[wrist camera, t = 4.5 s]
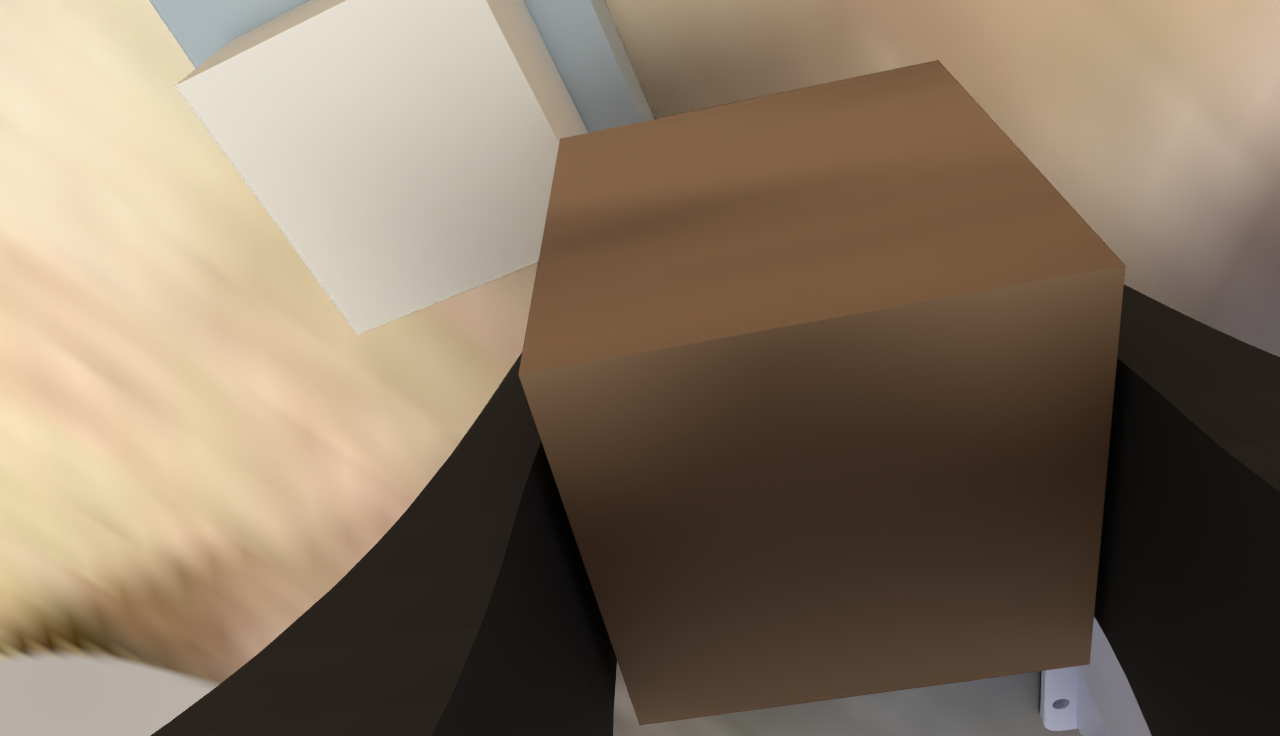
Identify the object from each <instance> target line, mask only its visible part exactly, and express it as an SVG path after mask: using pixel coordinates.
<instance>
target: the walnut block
mask: <svg viewBox="0 0 1280 736" xmlns="http://www.w3.org/2000/svg"><path fill="white" fill-rule="evenodd" d="M1124 276H1125V264H1124V263H1123V262H1122V261H1121V260H1120V259H1119V258H1118V257H1117V256H1116V255H1115V253H1114V252H1113V251H1112V250H1111V249H1110V248H1109V247H1108V246H1107V245H1106V244H1105V243H1104V241H1103V240H1102V239H1101V238H1100V237H1099V236H1098V235H1097V234H1096V233H1095V232H1094V230H1093V229H1092V228H1091V227H1090V226H1089V225H1088V224H1087V223H1086V222H1085V221H1084V220H1083V218H1082V217H1081V216H1080V215H1079V214H1078V213H1077V212H1076V211H1075V210H1074V209H1073V207H1072V206H1071V205H1070V204H1069V203H1068V202H1067V201H1066V200H1065V199H1064V198H1063V196H1062V195H1061V194H1060V193H1059V192H1058V191H1057V190H1056V189H1055V188H1054V187H1053V186H1052V184H1051V183H1050V182H1049V181H1048V180H1047V179H1046V178H1045V177H1044V176H1043V175H1042V173H1041V172H1040V171H1039V170H1038V169H1037V168H1036V167H1035V166H1034V165H1033V164H1032V163H1031V161H1030V160H1029V159H1028V158H1027V157H1026V156H1025V155H1024V154H1023V153H1022V152H1021V150H1020V149H1019V148H1018V147H1017V146H1016V145H1015V144H1014V143H1013V142H1012V141H1011V139H1010V138H1009V137H1008V136H1007V135H1006V134H1005V133H1004V132H1003V131H1002V130H1001V129H1000V127H999V126H998V125H997V124H996V123H995V122H994V121H993V120H992V119H991V118H990V116H989V115H988V114H987V113H986V112H985V111H984V110H983V109H982V108H981V107H980V106H979V104H978V103H977V102H976V101H975V100H974V99H973V98H972V97H971V96H970V95H969V93H968V92H967V91H966V90H965V89H964V88H963V87H962V86H961V85H960V84H959V82H958V81H957V80H956V79H955V78H954V77H953V76H952V75H951V74H950V73H949V72H948V70H947V69H946V68H945V67H944V66H943V65H942V64H941V63H940V62H939V61H938V60H937V61H932V62H927V63H922V64H917V65H913V66H908V67H903V68H898V69H893V70H888V71H884V72H879V73H874V74H869V75H864V76H860V77H855V78H850V79H845V80H840V81H836V82H831V83H826V84H821V85H816V86H811V87H807V88H802V89H797V90H792V91H787V92H783V93H778V94H773V95H768V96H763V97H759V98H754V99H749V100H744V101H739V102H734V103H730V104H725V105H720V106H715V107H710V108H706V109H701V110H696V111H691V112H686V113H682V114H677V115H672V116H667V117H662V118H657V119H653V120H648V121H643V122H638V123H633V124H629V125H624V126H619V127H614V128H609V129H605V130H600V131H595V132H590V133H585V134H580V135H576V136H571V137H566V138H561V139H560V142H559V147H558V153H557V159H556V164H555V170H554V176H553V181H552V187H551V193H550V199H549V204H548V210H547V216H546V221H545V227H544V233H543V238H542V244H541V250H540V255H539V261H538V267H537V272H536V278H535V284H534V289H533V295H532V301H531V306H530V312H529V318H528V323H527V329H526V335H525V340H524V346H523V352H522V357H521V363H520V369H519V378H520V381H521V383H522V386H523V389H524V392H525V395H526V398H527V401H528V404H529V407H530V409H531V412H532V415H533V418H534V421H535V424H536V427H537V430H538V433H539V435H540V438H541V441H542V444H543V447H544V450H545V453H546V456H547V459H548V461H549V464H550V467H551V470H552V473H553V476H554V479H555V482H556V485H557V488H558V490H559V493H560V496H561V499H562V502H563V505H564V508H565V511H566V514H567V516H568V519H569V522H570V525H571V528H572V531H573V534H574V537H575V540H576V542H577V545H578V548H579V551H580V554H581V557H582V560H583V563H584V566H585V568H586V571H587V574H588V577H589V580H590V583H591V586H592V589H593V592H594V595H595V597H596V600H597V603H598V606H599V609H600V612H601V615H602V618H603V621H604V623H605V626H606V629H607V632H608V635H609V638H610V641H611V644H612V647H613V649H614V652H615V655H616V658H617V661H618V664H619V667H620V670H621V673H622V675H623V678H624V681H625V684H626V687H627V690H628V693H629V696H630V699H631V702H632V704H633V707H634V710H635V713H636V716H637V719H638V722H639V725H645V724H653V723H660V722H667V721H675V720H682V719H690V718H697V717H704V716H712V715H719V714H727V713H734V712H741V711H749V710H756V709H764V708H771V707H779V706H786V705H793V704H801V703H808V702H816V701H823V700H830V699H838V698H845V697H853V696H860V695H867V694H875V693H882V692H890V691H897V690H904V689H912V688H919V687H927V686H934V685H942V684H949V683H956V682H964V681H971V680H979V679H986V678H993V677H1001V676H1008V675H1016V674H1023V673H1030V672H1038V671H1045V670H1053V669H1060V668H1067V667H1075V666H1082V665H1090V655H1091V644H1092V633H1093V621H1094V610H1095V599H1096V588H1097V577H1098V566H1099V554H1100V543H1101V532H1102V521H1103V510H1104V499H1105V488H1106V476H1107V465H1108V454H1109V443H1110V432H1111V421H1112V409H1113V398H1114V387H1115V376H1116V365H1117V354H1118V343H1119V331H1120V320H1121V309H1122V298H1123V287H1124Z"/></svg>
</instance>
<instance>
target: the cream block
mask: <svg viewBox="0 0 1280 736" xmlns="http://www.w3.org/2000/svg"><path fill="white" fill-rule="evenodd" d="M175 86H176V88H177V89H178V91H179V92H180V93H181V95H182V96H183V97H184V99H185V100H186V102H187V103H188V104H189V106H190V107H191V108H192V110H193V111H194V113H195V114H196V115H197V117H198V118H199V119H200V121H201V122H202V123H203V125H204V126H205V128H206V129H207V130H208V132H209V133H210V134H211V136H212V137H213V139H214V140H215V141H216V143H217V144H218V145H219V147H220V148H221V150H222V151H223V152H224V154H225V155H226V156H227V158H228V159H229V161H230V162H231V163H232V165H233V166H234V167H235V169H236V170H237V172H238V173H239V174H240V176H241V177H242V178H243V180H244V181H245V182H246V184H247V185H248V187H249V188H250V189H251V191H252V192H253V193H254V195H255V196H256V198H257V199H258V200H259V202H260V203H261V204H262V206H263V207H264V209H265V210H266V211H267V213H268V214H269V215H270V217H271V218H272V220H273V221H274V222H275V224H276V225H277V226H278V228H279V229H280V231H281V232H282V233H283V235H284V236H285V237H286V239H287V240H288V241H289V243H290V244H291V246H292V247H293V248H294V250H295V251H296V252H297V254H298V255H299V257H300V258H301V259H302V261H303V262H304V263H305V265H306V266H307V268H308V269H309V270H310V272H311V273H312V274H313V276H314V277H315V279H316V280H317V281H318V283H319V284H320V285H321V287H322V288H323V290H324V291H325V292H326V294H327V295H328V296H329V298H330V299H331V300H332V302H333V303H334V305H335V306H336V307H337V309H338V310H339V311H340V313H341V314H342V316H343V317H344V318H345V320H346V321H347V322H348V324H349V325H350V327H351V328H352V329H353V331H354V332H355V333H356V335H358V334H361V333H363V332H366V331H368V330H371V329H373V328H376V327H378V326H381V325H383V324H386V323H388V322H391V321H393V320H396V319H398V318H401V317H403V316H406V315H408V314H411V313H413V312H416V311H418V310H421V309H423V308H426V307H428V306H430V305H433V304H435V303H438V302H440V301H443V300H445V299H448V298H450V297H453V296H455V295H458V294H460V293H463V292H465V291H468V290H470V289H473V288H475V287H478V286H480V285H483V284H485V283H488V282H490V281H493V280H495V279H498V278H500V277H503V276H505V275H507V274H510V273H512V272H515V271H517V270H520V269H522V268H525V267H527V266H530V265H532V264H535V263H537V262H538V261H539V255H540V250H541V244H542V238H543V233H544V227H545V221H546V216H547V210H548V204H549V199H550V193H551V187H552V181H553V176H554V170H555V164H556V159H557V153H558V147H559V142H560V139H561V138H566V137H571V136H576V135H580V134H585V133H588V131H587V129H586V127H585V125H584V123H583V121H582V119H581V117H580V114H579V112H578V110H577V108H576V106H575V104H574V102H573V100H572V98H571V96H570V94H569V92H568V90H567V88H566V86H565V84H564V82H563V80H562V78H561V76H560V74H559V72H558V70H557V68H556V66H555V63H554V61H553V59H552V57H551V55H550V53H549V51H548V49H547V47H546V45H545V43H544V41H543V39H542V37H541V35H540V33H539V31H538V29H537V27H536V25H535V23H534V21H533V19H532V17H531V14H530V12H529V10H528V8H527V6H526V4H525V2H524V0H310V1H308V2H306V3H304V4H302V5H300V6H298V7H296V8H294V9H292V10H290V11H288V12H286V13H284V14H282V15H280V16H278V17H276V18H274V19H272V20H270V21H268V22H266V23H264V24H262V25H260V26H258V27H256V28H254V29H252V30H250V31H248V32H246V33H244V34H243V35H241V36H239V37H237V38H235V39H233V40H231V41H230V42H229V43H227V44H226V45H225V46H224V47H223V48H221V49H220V50H219V51H218V52H216V53H215V54H214V55H213V56H211V57H210V58H209V59H208V60H206V61H205V62H204V63H203V64H201V65H200V66H199V67H198V68H196V69H195V70H194V71H193V72H192V73H190V74H189V75H188V76H187V77H185V78H184V79H183V80H182V81H180V82H179V83H178V84H177V85H175Z"/></svg>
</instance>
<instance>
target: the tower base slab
mask: <svg viewBox="0 0 1280 736" xmlns="http://www.w3.org/2000/svg"><path fill="white" fill-rule="evenodd" d="M149 1H150V2H151V4H152V5H153V7H154V8H155V10H156V11H157V13H158V14H159V15H160V17H161V18H162V20H163V21H164V23H165V24H166V26H167V27H168V29H169V30H170V32H171V33H172V34H173V36H174V37H175V39H176V40H177V42H178V43H179V45H180V46H181V48H182V49H183V51H184V52H185V54H186V55H187V56H188V58H189V59H190V61H191V62H192V64H193V65H194V67H195V68H198V67H199V66H200V65H201V64H203V63H204V62H205V61H206V60H208V59H209V58H210V57H211V56H213V55H214V54H215V53H216V52H218V51H219V50H220V49H221V48H223V47H224V46H225V45H226V44H227V43H229V42H230V41H231V40H233V39H235V38H237V37H239V36H241V35H243V34H244V33H246V32H248V31H250V30H252V29H254V28H256V27H258V26H260V25H262V24H264V23H266V22H268V21H270V20H272V19H274V18H276V17H278V16H280V15H282V14H284V13H286V12H288V11H290V10H292V9H294V8H296V7H298V6H300V5H302V4H304V3H306V2H308V1H310V0H149ZM524 2H525V4H526V6H527V8H528V10H529V12H530V14H531V17H532V19H533V21H534V23H535V25H536V27H537V29H538V31H539V33H540V35H541V37H542V39H543V41H544V43H545V45H546V47H547V49H548V51H549V53H550V55H551V57H552V59H553V61H554V63H555V66H556V68H557V70H558V72H559V74H560V76H561V78H562V80H563V82H564V84H565V86H566V88H567V90H568V92H569V94H570V96H571V98H572V100H573V102H574V104H575V106H576V108H577V110H578V112H579V114H580V117H581V119H582V121H583V123H584V125H585V127H586V129H587V131H588V133H590V132H595V131H600V130H605V129H609V128H614V127H619V126H624V125H629V124H633V123H638V122H643V121H648V120H653V119H654V116H653V114H652V112H651V109H650V107H649V104H648V102H647V100H646V97H645V95H644V93H643V90H642V88H641V85H640V83H639V81H638V78H637V76H636V73H635V71H634V69H633V66H632V64H631V62H630V59H629V57H628V54H627V52H626V50H625V47H624V45H623V42H622V40H621V38H620V35H619V33H618V30H617V28H616V26H615V23H614V21H613V19H612V16H611V14H610V11H609V9H608V7H607V4H606V2H605V0H524Z"/></svg>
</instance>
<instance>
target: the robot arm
mask: <svg viewBox="0 0 1280 736" xmlns="http://www.w3.org/2000/svg"><path fill="white" fill-rule="evenodd" d="M521 357H522V353H521V355H520V356H519V358H518V359H517V360H516V362H515V363H514V365H513V366H512V368H511V369H510V371H509V372H508V374H507V375H506V377H505V378H504V380H503V381H502V383H501V384H500V386H499V387H498V389H497V390H496V392H495V393H494V394H493V396H492V397H491V399H490V400H489V402H488V403H487V405H486V406H485V408H484V409H483V411H482V412H481V414H480V415H479V417H478V418H477V419H476V421H475V422H474V424H473V425H472V426H471V428H470V429H469V431H468V432H467V433H466V435H465V436H464V438H463V439H462V440H461V442H460V443H459V445H458V446H457V447H456V449H455V450H454V452H453V453H452V454H451V456H450V457H449V458H448V459H447V461H446V462H445V463H444V464H443V466H442V467H441V468H440V469H439V471H438V472H437V473H436V474H435V476H434V477H433V478H432V479H431V481H430V482H429V483H428V484H427V486H426V487H425V488H424V489H423V491H422V492H421V493H420V494H419V496H418V497H417V498H416V499H415V501H414V502H413V503H412V504H411V506H410V507H409V508H408V509H407V510H406V512H405V513H404V514H403V515H402V516H401V517H400V519H399V520H398V521H397V522H396V523H395V524H394V525H393V526H392V527H391V529H390V530H389V531H388V532H387V533H386V534H385V535H384V536H383V537H382V538H381V540H380V541H379V542H378V543H377V544H376V545H375V546H374V547H373V548H372V549H371V550H370V551H369V552H368V553H367V554H366V555H365V556H364V557H363V558H362V559H361V560H360V561H359V562H358V563H357V564H356V565H355V566H354V567H353V568H352V569H351V570H350V571H349V572H348V574H347V575H346V576H344V577H343V578H342V579H341V580H340V581H339V582H338V583H337V584H336V585H335V586H334V587H333V588H332V589H331V590H330V591H329V592H328V593H327V594H325V595H324V596H323V597H322V598H321V599H320V600H319V601H318V602H316V603H315V604H314V605H313V606H312V607H311V608H310V609H309V610H307V611H306V612H305V613H304V614H303V615H302V616H301V617H300V618H298V619H297V620H296V621H295V622H294V623H293V624H292V625H291V626H289V627H288V628H287V629H286V630H285V631H284V632H283V633H282V634H280V635H279V636H278V637H277V638H276V639H275V640H274V641H273V642H271V643H270V644H269V645H268V646H267V647H266V648H265V649H263V650H262V651H261V652H260V653H259V654H257V655H256V656H255V657H254V658H253V659H251V660H250V661H249V662H248V663H246V664H245V665H244V666H242V667H241V668H240V669H239V670H237V671H236V672H235V673H234V674H232V675H231V676H230V677H229V678H227V679H226V680H225V681H224V682H222V683H221V684H220V685H219V686H217V687H216V688H215V689H213V690H212V691H211V692H209V693H208V694H207V695H205V696H204V697H203V698H201V699H200V700H199V701H197V702H196V703H195V704H193V705H192V706H191V707H189V708H188V709H187V710H185V711H184V712H183V713H181V714H180V715H179V716H177V717H176V718H175V719H173V720H172V721H171V722H169V723H168V724H166V725H165V726H163V727H162V728H161V729H159V730H158V731H156V732H155V733H154V734H152V735H151V736H613V715H614V696H615V681H616V667H617V658H616V655H615V652H614V649H613V647H612V644H611V641H610V638H609V635H608V632H607V629H606V626H605V623H604V621H603V618H602V615H601V612H600V609H599V606H598V603H597V600H596V597H595V595H594V592H593V589H592V586H591V583H590V580H589V577H588V574H587V571H586V568H585V566H584V563H583V560H582V557H581V554H580V551H579V548H578V545H577V542H576V540H575V537H574V534H573V531H572V528H571V525H570V522H569V519H568V516H567V514H566V511H565V508H564V505H563V502H562V499H561V496H560V493H559V490H558V488H557V485H556V482H555V479H554V476H553V473H552V470H551V467H550V464H549V461H548V459H547V456H546V453H545V450H544V447H543V444H542V441H541V438H540V435H539V433H538V430H537V427H536V424H535V421H534V418H533V415H532V412H531V409H530V407H529V404H528V401H527V398H526V395H525V392H524V389H523V386H522V383H521V381H520V378H519V369H520V363H521ZM1040 716H1041V719H1042V722H1043V724H1044V727H1045V728H1047V729H1048V730H1051V731H1064V730H1071V729H1078V730H1079V732H1080V734H1081V736H1280V357H1278V356H1275V355H1273V354H1270V353H1268V352H1266V351H1263V350H1261V349H1259V348H1256V347H1254V346H1251V345H1249V344H1247V343H1244V342H1242V341H1240V340H1238V339H1235V338H1233V337H1231V336H1229V335H1227V334H1224V333H1222V332H1220V331H1218V330H1216V329H1214V328H1211V327H1209V326H1207V325H1205V324H1203V323H1201V322H1199V321H1196V320H1194V319H1192V318H1190V317H1188V316H1186V315H1184V314H1182V313H1180V312H1178V311H1176V310H1174V309H1172V308H1170V307H1168V306H1166V305H1164V304H1162V303H1160V302H1158V301H1156V300H1154V299H1152V298H1150V297H1148V296H1146V295H1144V294H1142V293H1140V292H1138V291H1136V290H1134V289H1132V288H1130V287H1128V286H1126V285H1124V287H1123V298H1122V309H1121V320H1120V331H1119V343H1118V354H1117V365H1116V376H1115V387H1114V398H1113V409H1112V421H1111V432H1110V443H1109V454H1108V465H1107V476H1106V488H1105V499H1104V510H1103V521H1102V532H1101V543H1100V554H1099V566H1098V577H1097V588H1096V599H1095V610H1094V621H1093V633H1092V644H1091V655H1090V665H1082V666H1075V667H1067V668H1060V669H1053V670H1045V671H1042V677H1041V706H1040Z"/></svg>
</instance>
